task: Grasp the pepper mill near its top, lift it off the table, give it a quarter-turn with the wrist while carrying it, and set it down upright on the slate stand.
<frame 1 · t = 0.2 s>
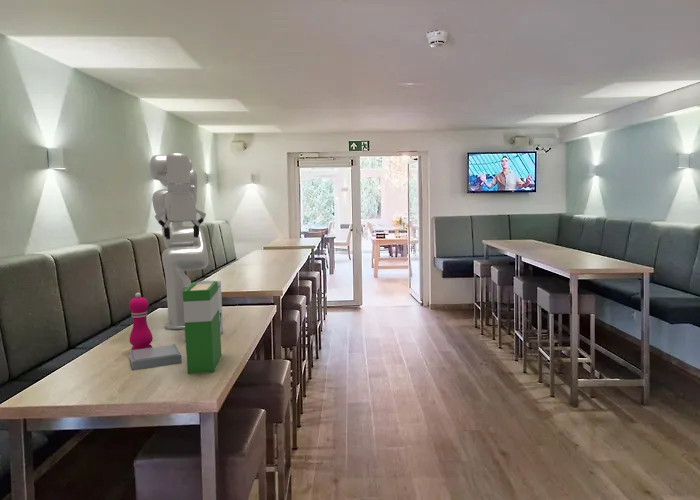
hand: (182, 238, 191), 37 cm above the table, tool pointing down, fingers open, 9 cm apart
hardback book: (205, 364, 166), on the table
pepper mill: (142, 352, 181), on the table
slate stand: (155, 360, 171), on the table
hard drive box: (205, 338, 198), on the table
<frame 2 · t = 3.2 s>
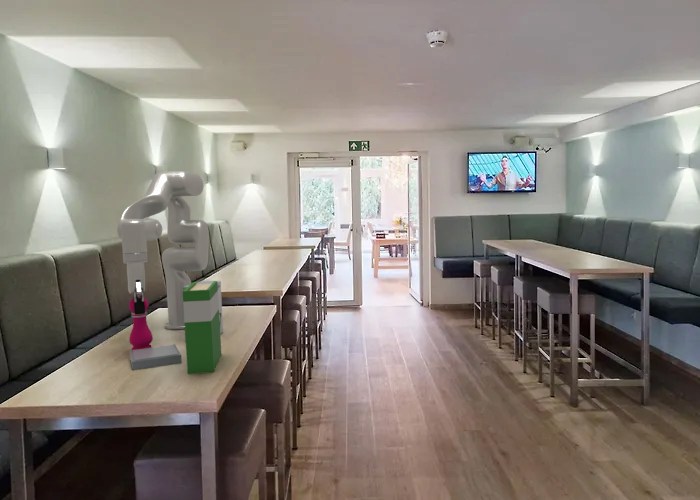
hand: (139, 311, 180), 14 cm above the table, tool pointing down, fingers closed on pepper mill, 6 cm apart
pepper mill: (142, 352, 181), on the table, touching gripper
everything else where it was.
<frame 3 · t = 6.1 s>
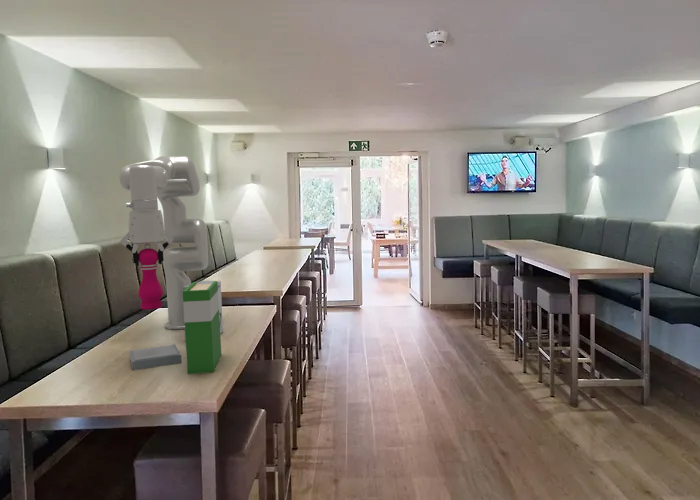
hand: (148, 264, 168), 30 cm above the table, tool pointing down, fingers closed on pepper mill, 6 cm apart
pepper mill: (151, 308, 169), point 17 cm above the table, touching gripper
everything else where it was.
when the fingers open (17 cm above the table, at t = 9.0 s): pepper mill stays where it is, resting on slate stand.
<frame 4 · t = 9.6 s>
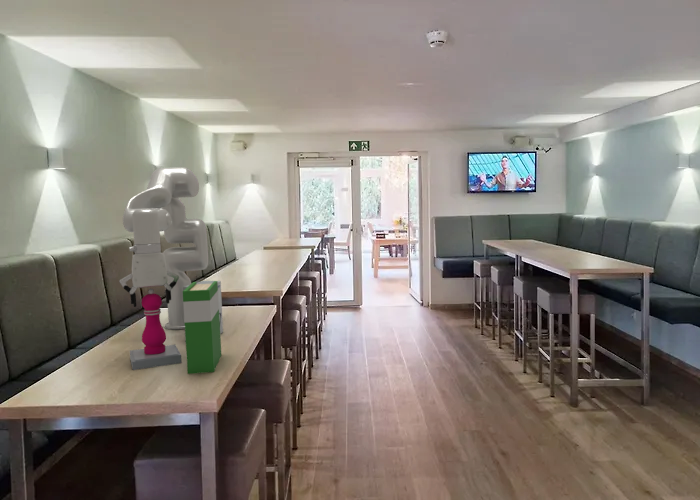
hand: (151, 304, 169), 18 cm above the table, tool pointing down, fingers open, 9 cm apart
pepper mill: (155, 352, 171), point 3 cm above the table, touching slate stand
everything else where it was.
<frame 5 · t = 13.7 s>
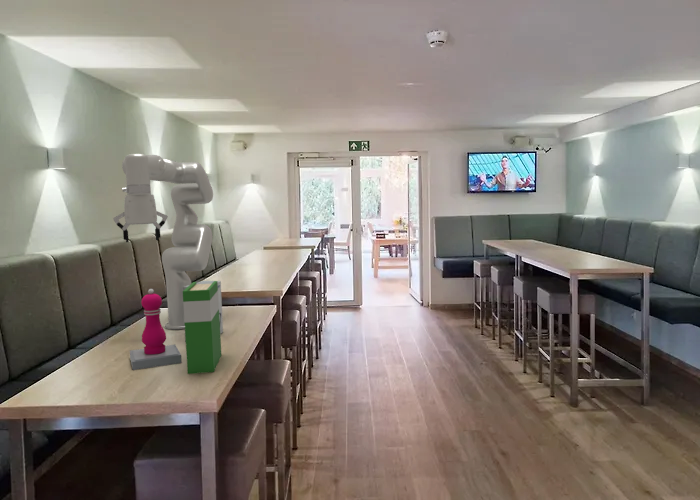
hand: (142, 241, 186), 36 cm above the table, tool pointing down, fingers open, 9 cm apart
nothing on the table moved.
at the end: pepper mill inside the target area on the slate stand (0.2 cm from its centre), point 2.5 cm above the slate stand's base; pepper mill tilted 0°; the gripper is holding nothing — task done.
